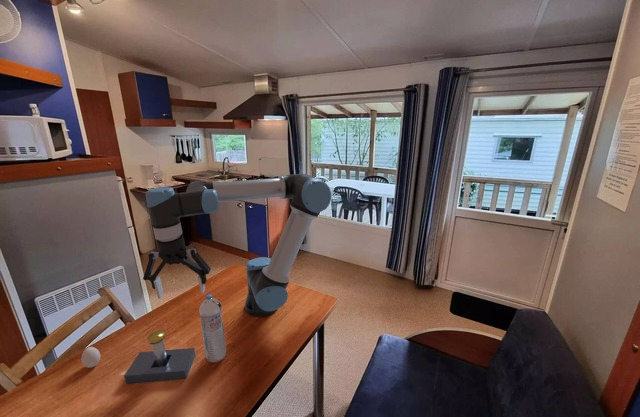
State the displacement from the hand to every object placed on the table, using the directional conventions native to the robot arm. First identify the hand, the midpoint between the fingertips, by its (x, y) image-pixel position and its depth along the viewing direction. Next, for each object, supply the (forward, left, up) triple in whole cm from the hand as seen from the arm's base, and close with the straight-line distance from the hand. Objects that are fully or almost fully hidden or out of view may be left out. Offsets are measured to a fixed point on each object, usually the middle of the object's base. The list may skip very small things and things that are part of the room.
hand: (182, 293), depth 88 cm
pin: (+6, +8, -24) cm, 26 cm away
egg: (+30, +4, -24) cm, 39 cm away
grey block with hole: (+7, +8, -24) cm, 26 cm away
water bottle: (-10, +4, -24) cm, 26 cm away
